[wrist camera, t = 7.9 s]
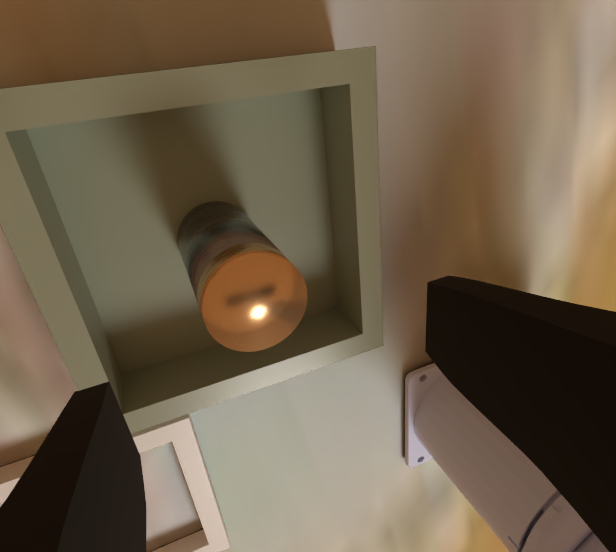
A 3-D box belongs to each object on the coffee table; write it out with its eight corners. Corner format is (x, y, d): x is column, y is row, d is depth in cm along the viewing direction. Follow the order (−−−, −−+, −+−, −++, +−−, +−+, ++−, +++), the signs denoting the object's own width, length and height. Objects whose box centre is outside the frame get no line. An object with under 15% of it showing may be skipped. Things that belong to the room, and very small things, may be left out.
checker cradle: (186, 403, 20) (189, 417, 19) (226, 531, 25) (230, 547, 24) (-62, 488, 17) (-71, 509, 16) (36, 614, 22) (33, 636, 21)
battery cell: (249, 196, 17) (305, 246, 12) (255, 266, 18) (309, 338, 13) (170, 206, 16) (194, 265, 11) (183, 279, 17) (210, 362, 12)
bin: (335, 51, 16) (375, 45, 14) (352, 314, 22) (383, 345, 19) (-24, 92, 13) (-60, 95, 10) (105, 392, 18) (102, 443, 16)
